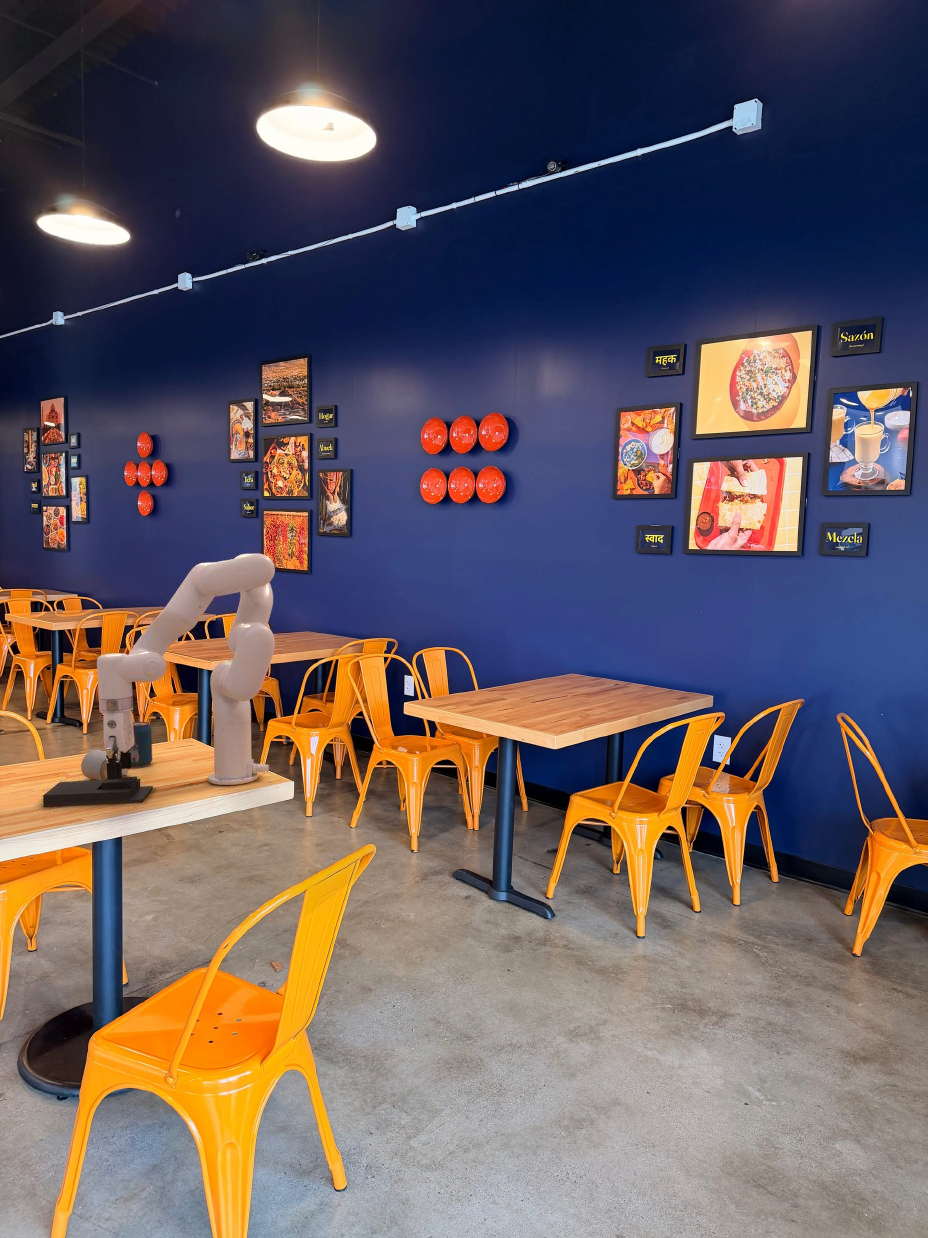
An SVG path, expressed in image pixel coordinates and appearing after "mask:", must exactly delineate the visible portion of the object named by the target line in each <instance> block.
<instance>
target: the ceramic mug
mask: <svg viewBox="0 0 928 1238" xmlns="http://www.w3.org/2000/svg"><path fill="white" fill-rule="evenodd" d="M106 755H107V753H106V752H105V750H101V749H92V750H90V751H88V752H87V753H85V755H84V757H83V758H82V761H81V765H80V769H81V772H82V774H83V776H84V777H85V778H87V779H90V780H105V779H106V778H107V764H106V759H107V758H106ZM116 757H117V755H116ZM128 775H129V769H122V776H128Z"/></svg>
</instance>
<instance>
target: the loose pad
mask: <svg viewBox="0 0 928 1238" xmlns="http://www.w3.org/2000/svg"><path fill="white" fill-rule="evenodd" d="M137 779H138V776H137V775H135V776H134V775H133V776H122V778H121V779H113V780H108V779H107V778H106V779H105V780H104V781H103V782H102V790H104V789H128V788H132V796H133V795H134V793H135V792H136V791H137Z"/></svg>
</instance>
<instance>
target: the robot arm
mask: <svg viewBox="0 0 928 1238" xmlns="http://www.w3.org/2000/svg"><path fill="white" fill-rule="evenodd" d="M275 571H276V568H275V564H274V562H273V560H272V559H271V558H270V557H269V556H267V555H265V554H263V553H242V554H239V555H237V556H236V557H234V558H233V559H232V558H231V559H227V560H221V561H215V562H214V561H213V562H200V563H198V564H196V565H195V566H193V567H192V568H191V570H190V571H189V573H187V575H186V577H185V578H184V580H183V581H182V582H181V584H180V585H179V587H178V588H177V590H176V591H175V593H174V594H173V596H172V597H171V598H170V600H169V602H168V603H167V604H166V606H164V608H163V610H162V611H161V612H160V613H159V614H158V615H157V616H156V617H155V618H154V620H152V622H151V623H150V624H149V625H148V626H147V627H146V628H145V630H144V631H143V633H142V634H141V635H140V637H139V638H138V639H137V640H136V642H135V643H134V646H133V647H132V648H131V649H130V651H129V652H128V654H127V653H123V652H122V653H121V652H116V653H115V652H114V653H106V654H101V655H99V656H98V657H97V660H96V673H97V691H98V692H97V693H98V707H99V708H98V710H99V713H100V714H103V721H102V723H103V748H104V752H106V753H107V755H106V758H107V759H106V764H107V779H108V780H113V779H121V778H122V777H123V775H122V769H127V770H130V769H132V768H131V767H132V761H131V747H132V746H133V745H134V731H133V715H132V711H134V702H133V701H134V700H133V699H134V698H133V683H153V682H157V681H158V680H159V681H160V679H162V678H163V677H164V676H165V675H166V672H167V669H168V665H167V664H168V663H167V661H166V659H165V657H164V655H165V653H166V652H167V651H168V650H169V648H170V647H171V646H172V645H173V644H174V642H175V641H177V640H178V639H179V638H180V637H183V635H185V634H187V633H188V632H190V631H191V630H192V629H194V628H195V627H196V625H197V624H198V623H199V621H200V620H201V618H202V616H203V615H204V613H205V612H206V611H207V609H208V607H209V606H210V604H211V603H212V602H213V600H214V598H216V597H221V596H226V595H232V594H236V593H239V594H240V597H239V603H238V607H237V611H236V614H235V617H234V618H233V622H232V624H231V627H230V630H229V632H228V636H227V640H226V641H227V646H228V649H229V651H230V652H231V653H232V654H233V655H234V656H233V658H232V659H228V660H227V659H226V660H224V661H221V662H219V663H218V664H217V665H216V666H215V667H214V668H213V669H212V672H211V674H210V681H209V683H210V693H211V698H212V699H211V701H212V713H213V714H212V715H213V764H214V765H213V767H214V769H213V771H214V772H212V773H210V774H209V775H208V782H209V783H210V784H213V785H217V786H218V785H219V786H234V785H235V786H236V785H243V784H247V783H251V782H254V781H256V780H258V778H259V777H258V776H259V773H269V772H270V765H269V764H265V763H255V761H254V760H255V759H254V758H252V710H251V709H252V706H251V701H250V700H252V699H253V698H255V697H256V696H257V695H258V694H259V693H260V692H261V689H262V687H263V684H264V682H265V679H266V676H267V673H268V670H269V668H270V665H271V662H272V658H273V655H274V652H275V647H276V640H275V635H274V633H273V631H272V629H271V628H269V627H268V624H269V620H270V617H271V614H272V610H273V605H274V593H273V589H272V585H271V583H270V582H271V581H272V580H273V578H274V576H275V573H276V572H275ZM116 756H117V757H116ZM265 771H267V772H265Z"/></svg>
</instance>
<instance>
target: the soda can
mask: <svg viewBox="0 0 928 1238" xmlns="http://www.w3.org/2000/svg"><path fill="white" fill-rule="evenodd" d="M133 731H134V745H133V746H132V747H131V761H132V767H131V768H130V769H139V768H141V769H142V768H145V767H149V766H150V765H151V763H152V762H153V737H152V736H153V735H152V732H153V731H152V727H151V725H150V722H149V721H134V722H133Z"/></svg>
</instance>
